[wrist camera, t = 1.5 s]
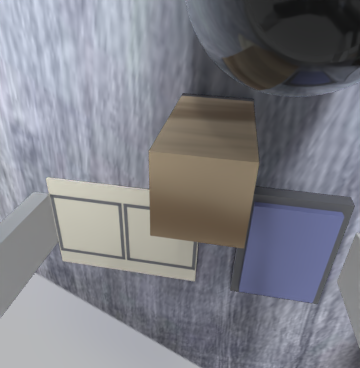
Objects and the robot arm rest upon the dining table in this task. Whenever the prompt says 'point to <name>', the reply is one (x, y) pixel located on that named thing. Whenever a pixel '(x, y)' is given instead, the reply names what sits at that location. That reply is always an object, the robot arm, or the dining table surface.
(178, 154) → the tall wooden block
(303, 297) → the ink pad
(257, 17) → the pump dispenser
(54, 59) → the dining table surface
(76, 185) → the tag card
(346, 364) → the dining table surface
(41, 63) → the dining table surface
